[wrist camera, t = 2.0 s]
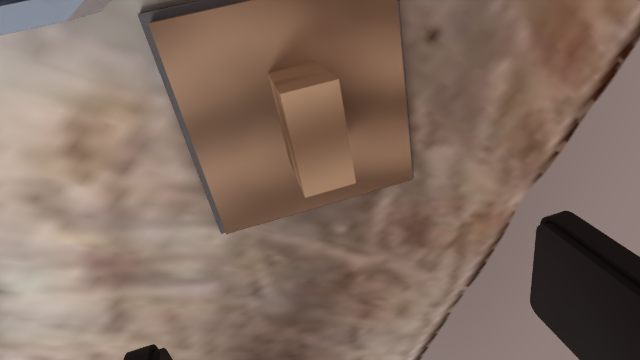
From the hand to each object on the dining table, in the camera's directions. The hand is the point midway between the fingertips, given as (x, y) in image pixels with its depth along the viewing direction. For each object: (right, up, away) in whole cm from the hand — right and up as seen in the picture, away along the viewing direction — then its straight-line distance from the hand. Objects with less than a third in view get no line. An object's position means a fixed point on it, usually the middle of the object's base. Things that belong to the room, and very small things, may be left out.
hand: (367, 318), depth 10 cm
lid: (-3, +8, +16) cm, 18 cm away
